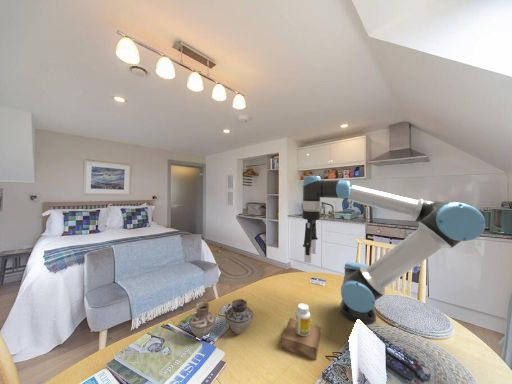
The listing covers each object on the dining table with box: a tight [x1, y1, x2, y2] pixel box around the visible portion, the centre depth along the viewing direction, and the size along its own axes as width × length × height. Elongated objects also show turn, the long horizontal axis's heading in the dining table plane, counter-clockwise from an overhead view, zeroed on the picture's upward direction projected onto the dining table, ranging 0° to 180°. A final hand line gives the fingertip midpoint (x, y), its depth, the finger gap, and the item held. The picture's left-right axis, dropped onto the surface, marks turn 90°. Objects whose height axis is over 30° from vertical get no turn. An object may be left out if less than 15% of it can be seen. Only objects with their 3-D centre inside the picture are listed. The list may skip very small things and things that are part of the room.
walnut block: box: [281, 318, 322, 360], centre depth 76 cm, size 12×12×4 cm
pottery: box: [188, 298, 254, 339], centre depth 81 cm, size 11×25×12 cm, turn 108°
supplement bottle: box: [295, 302, 311, 336], centre depth 76 cm, size 5×5×10 cm
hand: (310, 257), depth 92 cm, fingers open, 13 cm apart
